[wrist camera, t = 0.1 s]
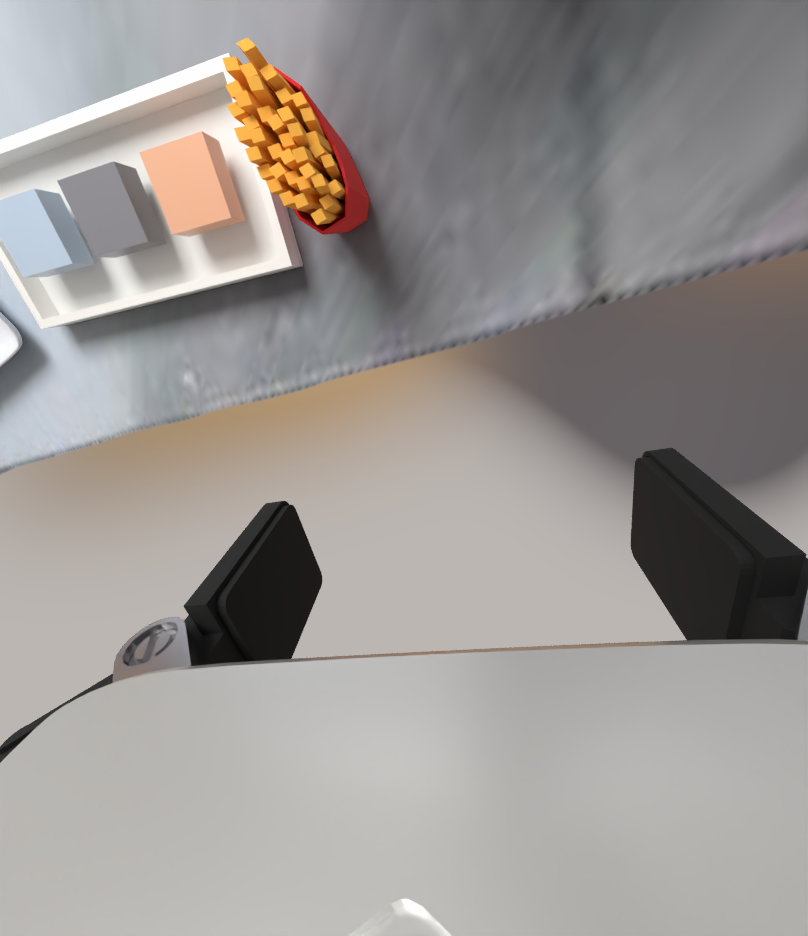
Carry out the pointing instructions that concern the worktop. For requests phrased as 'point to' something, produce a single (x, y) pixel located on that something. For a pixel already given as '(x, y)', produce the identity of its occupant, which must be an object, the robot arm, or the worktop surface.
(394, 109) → the worktop surface
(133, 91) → the white rectangular tray
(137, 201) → the charcoal key
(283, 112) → the french fries
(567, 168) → the worktop surface
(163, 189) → the terracotta key
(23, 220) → the dusty blue key
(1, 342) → the salad plate
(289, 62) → the worktop surface
